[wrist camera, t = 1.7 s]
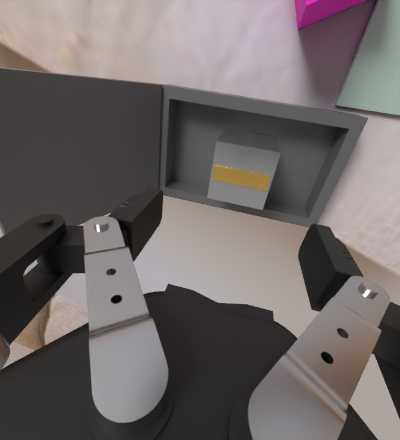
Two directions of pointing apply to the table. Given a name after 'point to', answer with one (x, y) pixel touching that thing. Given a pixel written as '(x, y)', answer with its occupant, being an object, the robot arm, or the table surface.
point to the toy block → (320, 9)
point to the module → (243, 167)
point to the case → (152, 146)
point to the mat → (376, 64)
